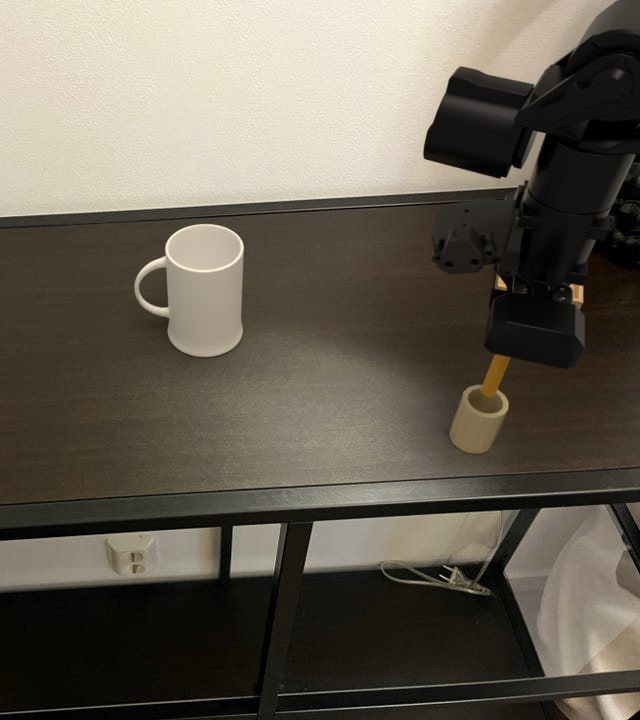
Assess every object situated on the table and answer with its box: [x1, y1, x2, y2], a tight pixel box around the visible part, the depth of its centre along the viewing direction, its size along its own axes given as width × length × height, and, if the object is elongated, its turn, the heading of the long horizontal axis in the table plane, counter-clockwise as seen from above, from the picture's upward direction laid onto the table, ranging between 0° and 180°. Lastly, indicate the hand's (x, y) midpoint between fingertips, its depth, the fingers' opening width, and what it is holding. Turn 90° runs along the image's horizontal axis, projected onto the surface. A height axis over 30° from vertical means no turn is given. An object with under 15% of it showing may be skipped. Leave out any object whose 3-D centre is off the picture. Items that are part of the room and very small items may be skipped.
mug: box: [134, 223, 245, 358], centre depth 81 cm, size 12×8×12 cm
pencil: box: [481, 354, 511, 397], centre depth 65 cm, size 1×1×10 cm
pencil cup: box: [448, 384, 510, 455], centre depth 71 cm, size 4×4×6 cm
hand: (507, 346), depth 64 cm, fingers closed on pencil, 1 cm apart
